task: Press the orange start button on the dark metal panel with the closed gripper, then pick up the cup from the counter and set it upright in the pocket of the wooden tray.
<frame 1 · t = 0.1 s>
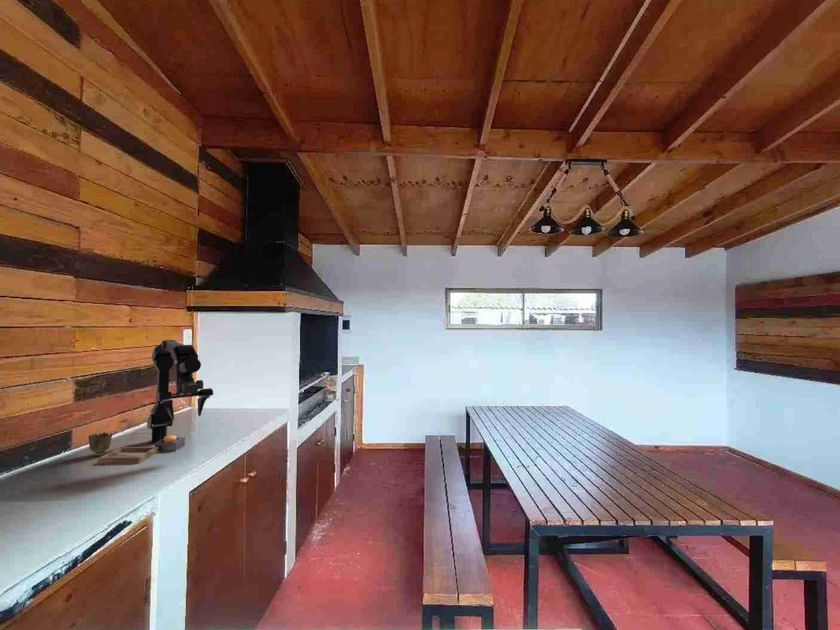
hand: (186, 417, 162), 15 cm above the counter, tool pointing down, fingers open, 9 cm apart
wooden tray: (129, 457, 162), on the counter
start button: (170, 439, 175), point 4 cm above the counter, slide at 0.0 cm
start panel: (170, 448, 174), on the counter
cup: (99, 455, 164), on the counter
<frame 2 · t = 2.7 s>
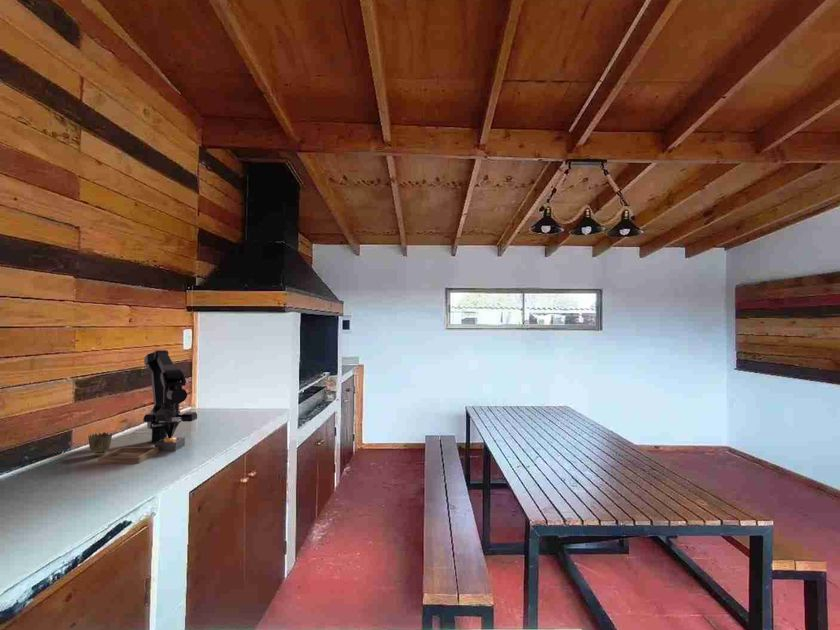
hand: (170, 438, 175), 4 cm above the counter, tool pointing down, fingers closed, pressing on start button
start button: (170, 441, 175), point 3 cm above the counter, slide at 0.6 cm, touching gripper
everything else where it was.
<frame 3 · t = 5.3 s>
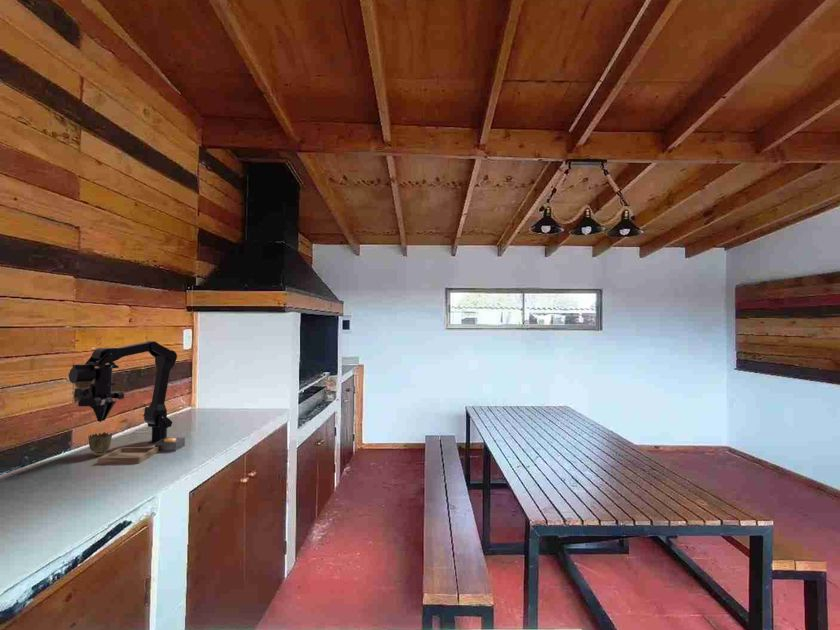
hand: (101, 421, 165), 13 cm above the counter, tool pointing down, fingers closed
start button: (170, 442, 175), point 3 cm above the counter, slide at 1.0 cm
everything else where it was.
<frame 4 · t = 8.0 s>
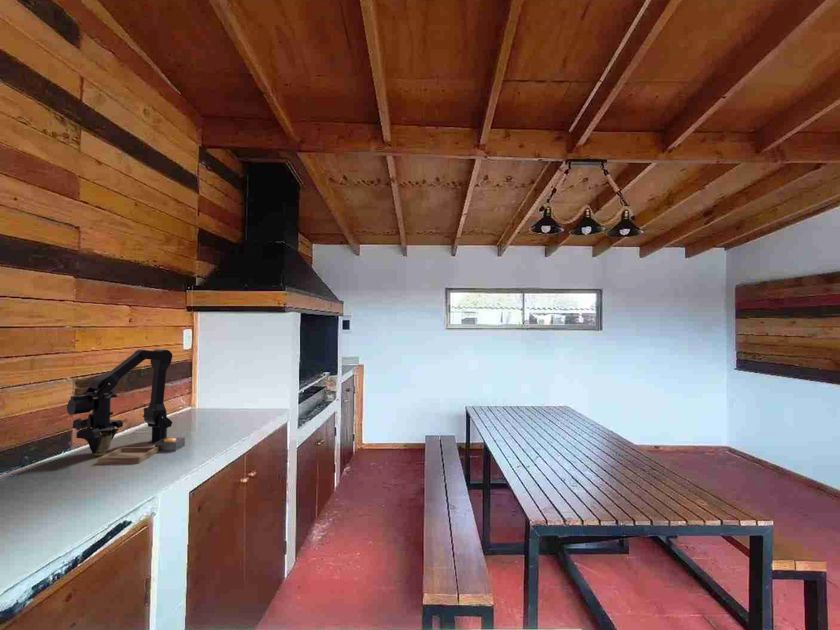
hand: (100, 451, 164), 2 cm above the counter, tool pointing down, fingers closed on cup, 6 cm apart
cup: (99, 455, 164), on the counter, touching gripper
everything else where it was.
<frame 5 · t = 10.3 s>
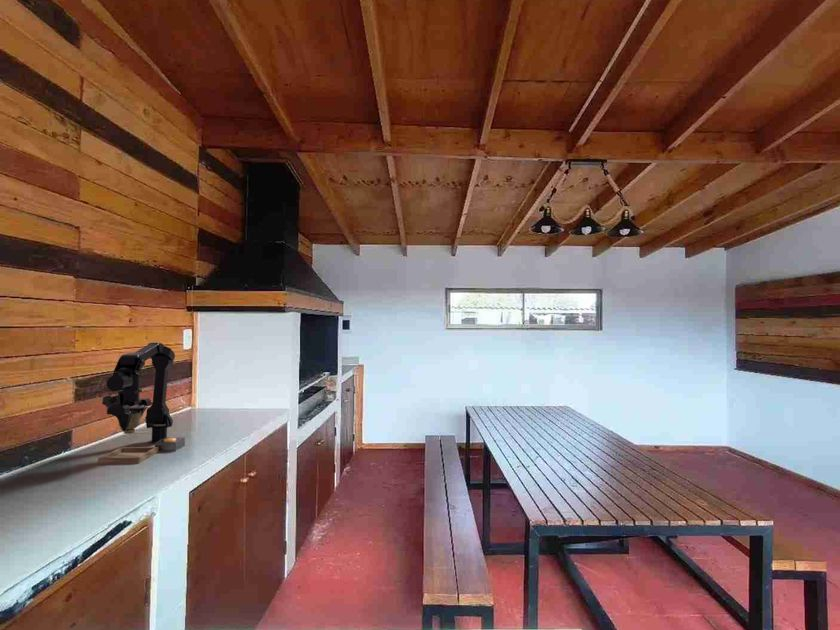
hand: (129, 428, 162), 11 cm above the counter, tool pointing down, fingers closed on cup, 6 cm apart
cup: (129, 433, 162), point 9 cm above the counter, touching gripper
everything else where it was.
when the fingers open (4 cm above the counter, at t = 12.5 s): cup drops 1 cm, resting on wooden tray.
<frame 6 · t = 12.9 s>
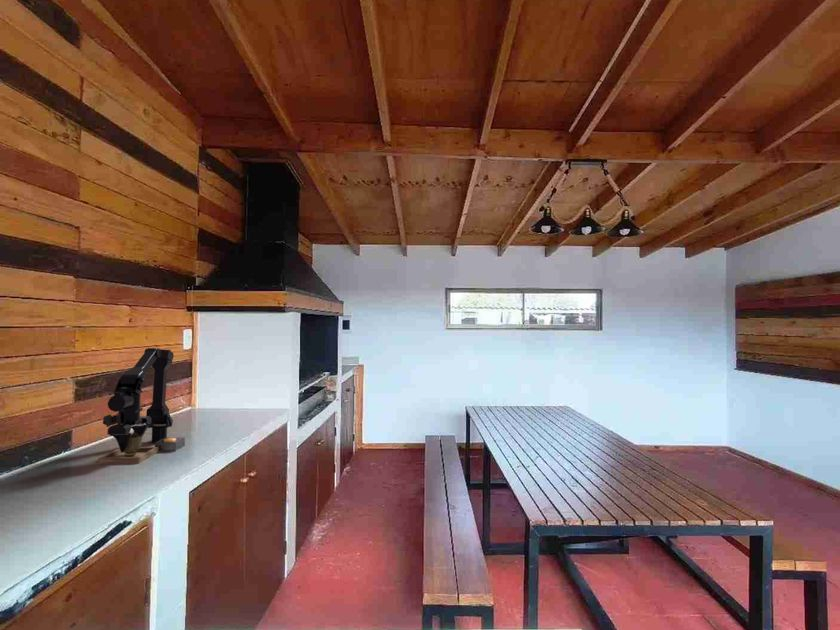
hand: (129, 447, 162), 4 cm above the counter, tool pointing down, fingers open, 9 cm apart
cup: (130, 456, 162), resting on wooden tray
everything else where it was.
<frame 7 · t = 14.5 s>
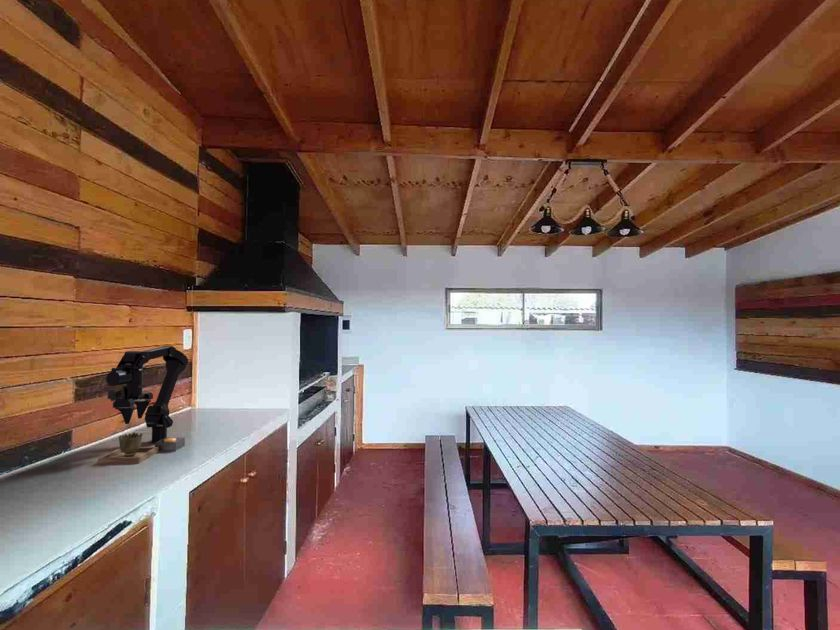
hand: (133, 421, 171), 12 cm above the counter, tool pointing down, fingers open, 9 cm apart
nothing on the counter moved.
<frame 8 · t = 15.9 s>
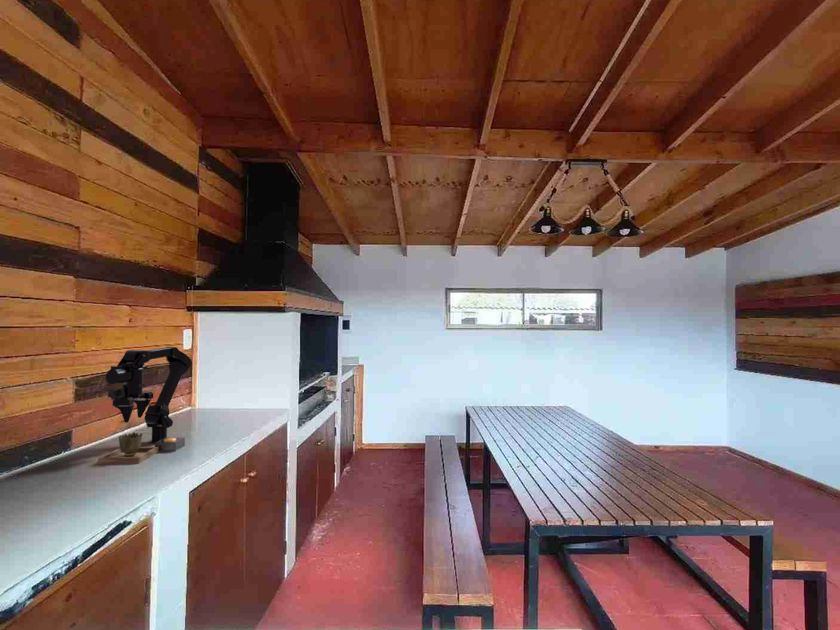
hand: (133, 419, 172), 12 cm above the counter, tool pointing down, fingers open, 9 cm apart
nothing on the counter moved.
at the end: start button slide at 1.0 cm; cup 0.1 cm off-centre on the wooden tray, point 0.4 cm above the wooden tray's base; cup tilted 0° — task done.
